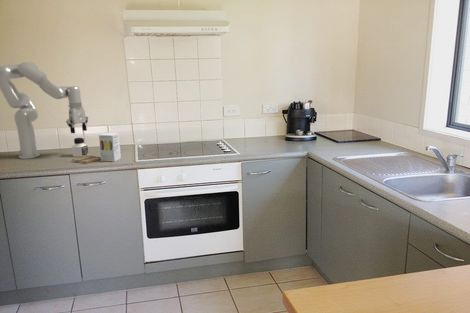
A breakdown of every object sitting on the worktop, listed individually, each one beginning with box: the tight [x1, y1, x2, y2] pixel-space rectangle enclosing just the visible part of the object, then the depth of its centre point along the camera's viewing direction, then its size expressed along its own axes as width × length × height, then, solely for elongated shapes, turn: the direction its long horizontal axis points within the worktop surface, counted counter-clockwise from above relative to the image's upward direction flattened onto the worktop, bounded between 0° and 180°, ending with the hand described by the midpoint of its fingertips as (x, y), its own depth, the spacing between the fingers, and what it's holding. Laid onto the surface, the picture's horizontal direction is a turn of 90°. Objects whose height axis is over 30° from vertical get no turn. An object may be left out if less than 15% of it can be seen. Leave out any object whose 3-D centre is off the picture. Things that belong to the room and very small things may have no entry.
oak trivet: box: [71, 154, 101, 164], centre depth 260 cm, size 12×12×2 cm
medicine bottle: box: [71, 137, 89, 158], centre depth 272 cm, size 7×7×12 cm
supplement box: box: [98, 132, 122, 163], centre depth 259 cm, size 10×9×17 cm
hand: (79, 131), depth 270 cm, fingers open, 9 cm apart
